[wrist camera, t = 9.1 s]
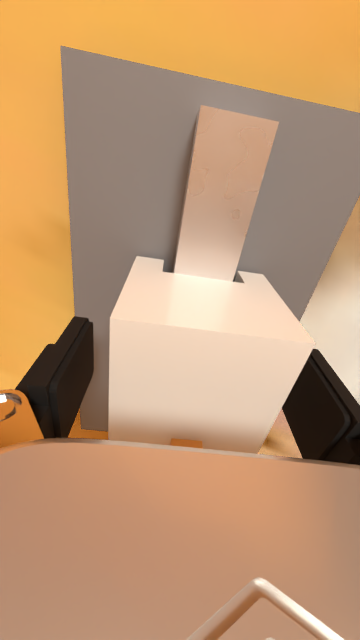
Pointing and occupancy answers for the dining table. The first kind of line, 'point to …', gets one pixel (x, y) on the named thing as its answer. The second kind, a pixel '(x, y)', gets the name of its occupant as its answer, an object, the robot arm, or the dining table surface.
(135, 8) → the dining table surface
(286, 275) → the mounting board
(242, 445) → the block
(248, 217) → the rail
